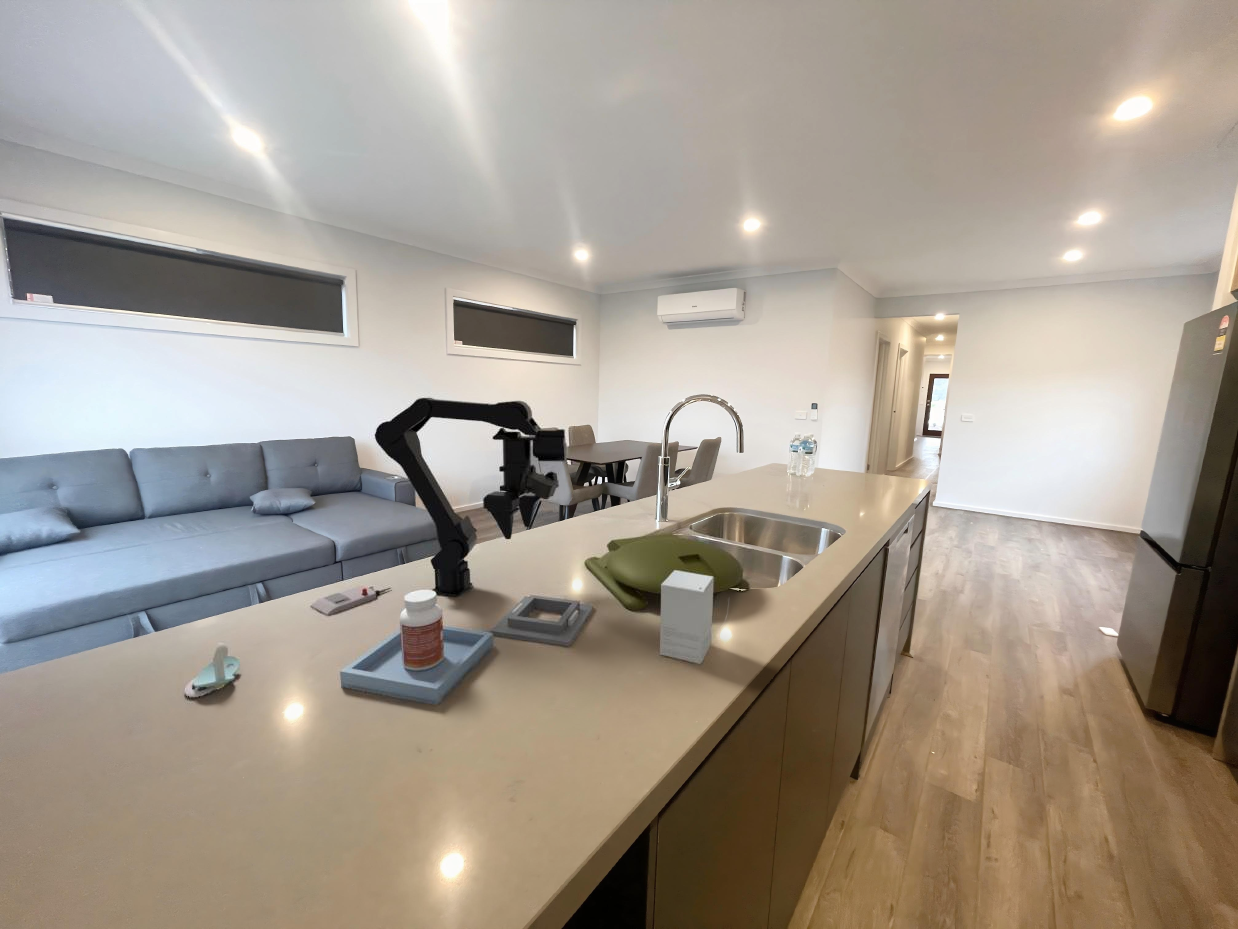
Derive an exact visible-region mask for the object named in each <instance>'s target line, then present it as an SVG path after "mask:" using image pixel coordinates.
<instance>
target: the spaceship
mask: <svg viewBox="0 0 1238 929" xmlns="http://www.w3.org/2000/svg"><path fill="white" fill-rule="evenodd" d="M606 547H607V550H608V552H607V553H605V554H603V556H601V557H597V556H592V557H588V558H587V559H586V560H584V562H583V564H584V566H585V568H586V569H588V571H590V573H592V575H594V576H595V577H596V578H597V580H598V581H599V582H600V583H602V585H603V586H604V587H605V588H606V589H607V590H608V591H609V592H610V593H611V595H613V596H614V597H615V598H616V600H618V601H619V602H620V603H621V604H622V605H623V606H624V607H625V608H626V609H627V610H631V611H641V610H644V609H645V608H646V607H647V606H648V602H649V601H648V600H647V597H645V596H644V595H643V594H641V592H640V591H643V592H644V591H645V592H649V593H654V594H660V595H661V584H662V583H663V582H664V581H665V580H666V579H667V578H668V577H669V576H670V575H671V574H672V572H673V571H674V570H677V571H683V572H688V573H694V574H700V575H706V576H713V577H714V581H713V594H716V593H721V592H724V591H726V590H730V589H729V588H739V589H747V590H749V588H750V583H749V582H748V581H747V580H746V579H744V578H743V577H744V570H743V569H744V568H742V565H741V563H740V561H739V560H738V559H737V558H736V557H735V556H734V555H732V554H731V553H730V552H729V551H727V550H725V549H723V548H721V547H718V546H716V545H714V544H712V543H708V542H705V541H701V540H697V539H691V538H687V537H686V538H685V537H684V538H683V537H680V536H677V535H676V534H675V533H662V534H654V535H645V536H637V537H625V538H619V539H612V540H610V541H609V542H608V543H607V544H606ZM639 590H640V591H639ZM738 592H742V591H741V590H739V591H738Z"/></svg>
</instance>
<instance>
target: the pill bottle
mask: <svg viewBox="0 0 1238 929" xmlns="http://www.w3.org/2000/svg"><path fill="white" fill-rule="evenodd" d="M403 598H404V599H403V606H404V609H403V610H402V612H401V613H400V615H399V629H400V631H401V649H402V663H403V666H404V667H405V668H407V669H409V670H413V671H422V670H427V669H430V668H432V667H434V666H436V665H438V664H439V663H440V662H441V661H442V660H443V657H444V642H443V626H444V624H443V610H442V608H441V606H440V605H439V604H437V602H438V597H437V594H436V592H435V591H432V589H420V590H415V591H412V592H409V593H407V594H406V595H405V596H404V597H403Z"/></svg>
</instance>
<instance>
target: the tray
mask: <svg viewBox="0 0 1238 929" xmlns="http://www.w3.org/2000/svg"><path fill="white" fill-rule="evenodd" d="M443 642H444V657H443V660H442V661H441V662H440V663H439V664H438V665H436V666H434V667H432V668H430V669H427V670H422V671H413V670H409V669H407V668H405V667H404V666H403V663H402V649H401V631H400V628H398V630H396V631H395V632H393V633H392V634H391V635H389V636H388V637H387V638H385V639H384V640H382V641H381V642H379V643H377V645H375V646H374V647H372V648H371V649H369V650H367V651H366V652H365V653H364V654H362V655H361V656H359V657H358V658H357V659H355V660H354V661H352V662H351V663H349V664H348V665H347V666H345V667H344V668H343V669H341V670H340V671H339V674H340V675H339V677H340V687H341V688H344V687H345V689H350V688H352V689H351V690H355V689H357V690H356V691H360V690H364V691H363V692H365V691H367V693H371V694H376V693H378V694H377V695H381V694H382V695H383V696H386V695H387V697H392V698H398V699H403V700H408V701H413V702H418V703H423V704H429V705H433V706H434V705H435V706H439V705H440V703H441V702H442V701H443V700H444V699H445V698H446V697H447V696H448V695H449V693H451V692H452V691H453V689H455V688H456V686H457V685H458V684H460V683H461V681H462V680H464V678H465V677H466V676H467V675H468V674H469V673H470V672H471V671H472V670H473V669H474V668H475V667H476V666H477V665H478V663H480V661H481V660H482V659H483V658H484V657H485V656H486V655H487V654H488V653H489V652H490V651H491V650H492V649H493V648H494V635H493V633H490V631H489V632H488V631H480V630H474V629H468V628H461V627H455V626H447V625H443ZM382 695H381V696H382Z"/></svg>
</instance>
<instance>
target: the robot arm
mask: <svg viewBox="0 0 1238 929" xmlns="http://www.w3.org/2000/svg"><path fill="white" fill-rule="evenodd" d="M532 411H533V410H532V409H531V406H530V405H529V404H527V402H525V401H522V400H511V401H499V402H491V403H483V402H471V401H461V400H459V401H457V400H448V399H437V398H434V397H419V398H417V399H416V400H414V402H413V403H411V405H409V406H408V407H407V408H405V409H404V410H403V411H401V412H400V413H399V414H397V415H395V416H393V418H392V419H390V420H389V421H384V422H382V423H381V424H379V425H378V426H377V427H376V428H375V433H374V439H375V442H376V443H377V445H378V446H379V447H380V448H381V449H382V450H383V452H384V453H385V454H386V455H387V457H389V458H390V459H391V460H392V461H394V462H395V463H397V464H398V465H399V466H400V467H401V469H402V471H403V473H405V475H406V477H407V479H408V481H409V482H410V484H411V486H412V487H413V489H414V491H415V493H416V494H417V496H418V497H419V499H420V501H421V503H422V505H423V506H424V508H425V509H426V511H427V513H428V514H429V516H430V517H431V520H432V522H434V525H435V529H436V540H437V542H438V544H439V548H440V550H439V551H438V552H437V553H436V554H435V555H434V556H433V557H432V558H431V559H430V563H431V565H432V568H433V570H434V586H435V587H434V588H432V589H431V590H432V591H435V592H436V595H444V596H450V597H459V596H460V595H461V594H463V593H465V591H466V590H468V589H469V588H471V587H472V586H473V582H471V569H470V568H469V561H468V560H465V558H466V557H467V556H468V555H469V553H470V552H472V550H473V549H474V547H475V546H476V544H477V540H478V536H477V531H478V529H477V528H476V527H474V525H473V523H472V521H471V518H470V516H469V515H466V516H464V517H461V516H460V515H459V514H458V513H456V512H455V510H454V509H453V507H452V505H451V503H450V501H449V500H448V498H447V497H446V495H445V492H444V491H443V490H442V488H441V486H440V484H439V483H438V481H437V479H436V477H435V476H434V473H433V472H432V470H431V469H430V467H429V465H428V464H427V462H426V460H425V459H424V456H423V455H422V447H421V440H420V438H419V435H418V432H419V431H420V430H421V429H422V428H424V426H426V424H427V423H428V422H429V421H430V419H432V418H437V419H447V420H449V419H451V420H460V421H461V420H462V421H473V422H474V421H475V422H483V423H488V424H490V425H493V426H496V427H500V428H499V429H498V431H497V432H496V433H495V434H494V435H493V436H492V440H494V441H496V440H497V441H502V465H500V466H499V472H501V473H503V474H502V475H503V484H502V485H500V486H499V491H497V490H495V491H493V492H490V493H488V494H486V495H485V496H484V497H483V499H482V504H483V507H482V508H483V509H484V510H486V511H487V512H489V513H490V514H491V516H492V517H493V518H494V521H495V522H496V524H497V526H498V527H499V529H500V531H501V533H502V535H503V537H504V539H505V540H511V539H512V534H513V525H514V516H515V514H516V513H517V512H518V511H519V513H520V516H521V519H522V522H523V525H524V527H525V528H530V527H531V523H532V519H533V517H534V516H533V515H534V513H535V509H536V506H537V504H538V503H539V501H540V500H541V499H543V500H548V499H550V498H551V497H554V496H555V493H556V490H557V488H559V486H560V484H559V479H558V474H557V473H556V472H555V471H551V470H550V471H549V472H547V473H546V474H544V473H538V472H537V470H536V467H537V466H535V464H532V456H533V457H535V458H536V459H537V460H538V462H555V463H556V462H557V463H558V462H561V463H562V462H563V463H564V462H565V463H566V461H567V443H566V442H567V440H566V430H565V429H564V428H559V429H542V428H541V426H539V424H538V423H537V422H536V421H535V419H534V418H533V412H532ZM506 429H507V430H506ZM508 430H513V431H508ZM516 430H517V431H516ZM522 434H524V435H522ZM531 441H532V444H531ZM531 446H532V447H531ZM531 450H532V451H531ZM535 458H534V459H535Z"/></svg>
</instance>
